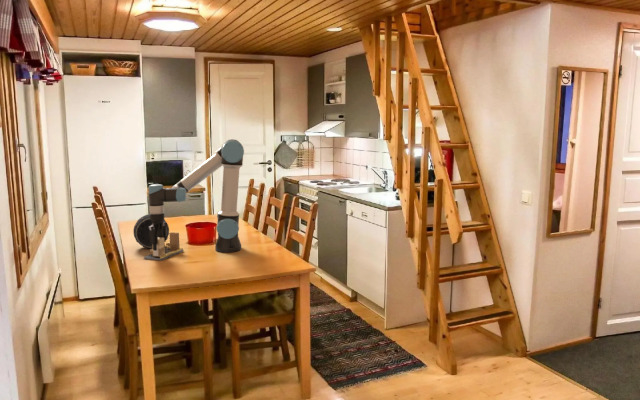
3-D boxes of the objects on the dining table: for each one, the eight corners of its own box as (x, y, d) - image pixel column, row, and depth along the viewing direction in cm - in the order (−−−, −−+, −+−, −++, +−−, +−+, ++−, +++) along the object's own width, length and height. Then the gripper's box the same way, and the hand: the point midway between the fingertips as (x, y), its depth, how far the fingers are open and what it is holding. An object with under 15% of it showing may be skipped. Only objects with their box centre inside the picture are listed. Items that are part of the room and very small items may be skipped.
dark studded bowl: (170, 248, 300) (168, 215, 296) (134, 251, 293) (132, 217, 290) (169, 244, 310) (167, 212, 306) (134, 246, 303) (132, 213, 300)
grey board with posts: (183, 251, 293) (182, 232, 291) (161, 260, 273) (160, 240, 271) (167, 249, 296) (166, 231, 294) (144, 259, 277) (143, 239, 275)
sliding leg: (165, 255, 279) (164, 237, 277) (160, 257, 275) (159, 239, 273) (152, 254, 281) (151, 236, 280) (148, 255, 277) (147, 238, 276)
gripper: (160, 209, 283) (162, 250, 287) (140, 215, 267) (143, 258, 271) (172, 210, 281) (174, 251, 284) (152, 216, 265) (155, 259, 268)
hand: (159, 254), depth 277 cm, fingers closed on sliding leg, 4 cm apart
